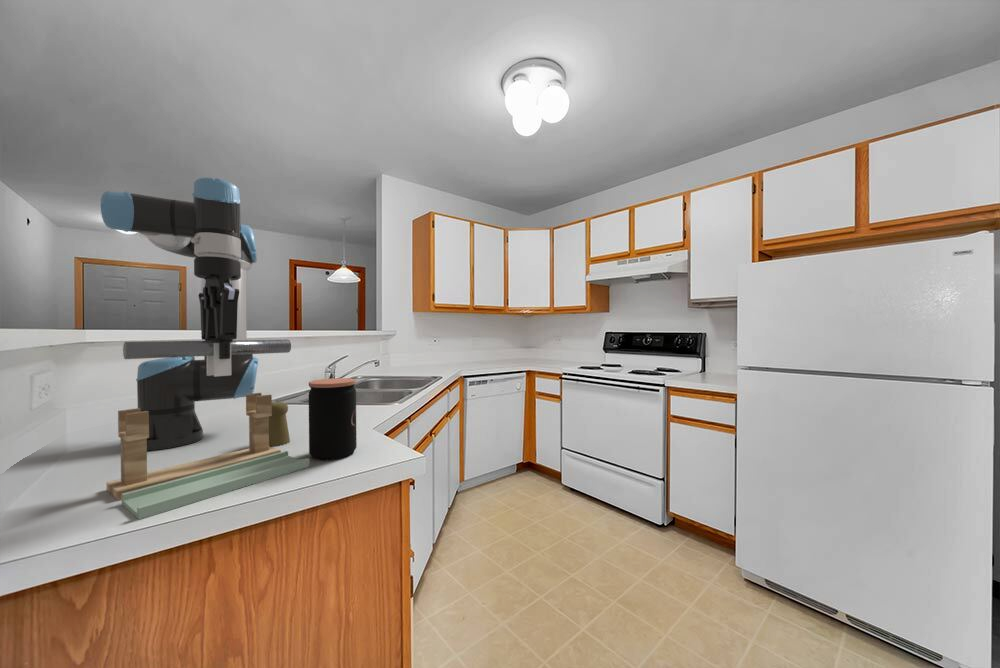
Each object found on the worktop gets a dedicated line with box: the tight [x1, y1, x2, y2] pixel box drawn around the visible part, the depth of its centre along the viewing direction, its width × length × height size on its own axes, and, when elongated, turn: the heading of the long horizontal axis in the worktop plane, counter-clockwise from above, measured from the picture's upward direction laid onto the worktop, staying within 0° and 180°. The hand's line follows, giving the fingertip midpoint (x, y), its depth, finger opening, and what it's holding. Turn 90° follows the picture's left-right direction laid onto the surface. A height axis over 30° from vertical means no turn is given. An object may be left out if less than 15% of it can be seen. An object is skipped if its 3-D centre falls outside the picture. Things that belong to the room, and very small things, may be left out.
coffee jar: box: [308, 377, 358, 461], centre depth 92 cm, size 11×11×18 cm
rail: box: [122, 339, 292, 360], centre depth 75 cm, size 27×3×3 cm, turn 146°
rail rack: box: [106, 392, 282, 501], centre depth 81 cm, size 8×28×15 cm, turn 146°
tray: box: [121, 450, 310, 521], centre depth 75 cm, size 10×28×2 cm, turn 146°
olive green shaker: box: [269, 401, 291, 447], centre depth 101 cm, size 6×6×11 cm
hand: (219, 375), depth 75 cm, fingers closed on rail, 3 cm apart
